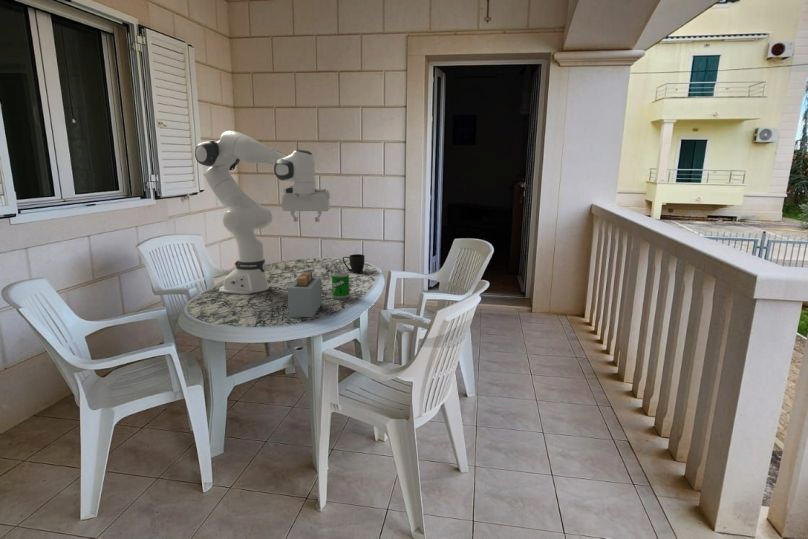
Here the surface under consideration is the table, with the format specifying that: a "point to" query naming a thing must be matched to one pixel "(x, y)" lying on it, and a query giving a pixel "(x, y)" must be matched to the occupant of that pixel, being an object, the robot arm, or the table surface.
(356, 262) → the mug
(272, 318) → the table surface
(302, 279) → the brown rectangular block
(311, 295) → the grey hollow frame
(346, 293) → the soda can
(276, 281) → the table surface
